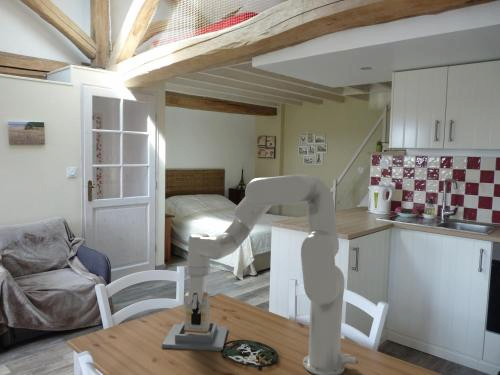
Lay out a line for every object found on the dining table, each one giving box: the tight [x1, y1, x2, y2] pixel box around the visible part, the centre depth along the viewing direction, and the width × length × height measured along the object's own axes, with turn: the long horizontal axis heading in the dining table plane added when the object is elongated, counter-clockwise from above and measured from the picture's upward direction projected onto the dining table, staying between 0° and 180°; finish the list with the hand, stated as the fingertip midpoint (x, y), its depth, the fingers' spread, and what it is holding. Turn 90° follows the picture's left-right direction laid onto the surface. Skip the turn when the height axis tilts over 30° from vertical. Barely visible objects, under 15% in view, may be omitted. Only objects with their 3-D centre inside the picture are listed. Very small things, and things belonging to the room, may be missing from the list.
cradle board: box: [161, 320, 229, 352], centre depth 140 cm, size 20×17×4 cm
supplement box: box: [183, 291, 211, 333], centre depth 140 cm, size 8×5×13 cm, turn 84°
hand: (197, 320), depth 140 cm, fingers closed on supplement box, 5 cm apart
